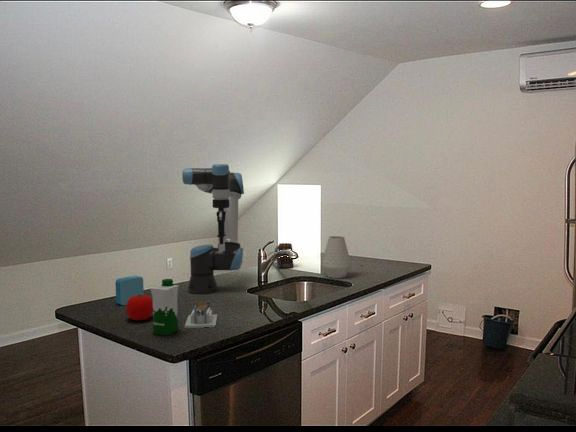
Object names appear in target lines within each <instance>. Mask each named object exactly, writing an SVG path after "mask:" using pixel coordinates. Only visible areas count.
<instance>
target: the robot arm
mask: <svg viewBox="0 0 576 432" xmlns="http://www.w3.org/2000/svg"><path fill="white" fill-rule="evenodd" d="M181 174H182V175H181V176H182V183H183V184H184V185H189V186H191V185H194V186H196V188H197V189H198V190H199V191H202V192H204V193H207V194H211V195H212V208H213V209H217V211H216V217H217V218H216V219H217V220H216V221H217V231H218V234H217V235H216V237H217V238H218V244H217V247H214V245H213V244H202V245H198V246H197V245H196V246H194V247H192V248H191V249H190V254H189V255H190V256H189V259H190V261H189V262H190V276H189V281H188V284H187V292H188V293H190V294H197V295H204V294H211V293H215V292H217V291H218V284H217V282H216V278H215V276H214V272H215V271H231V272H232V271H239V270H240V269H241V268H242V263H243V257H244V256H243V255H244V248H243V247H242V246H241V243H240V242H239V241H238V238H239V237H238V236H239V234H238V233H239V232H238V231H239V200H240V199H241V198H242V195H244V194H245V191H244V189H245V188H244V182H243V176H242V173H241V172H231V171H230V167H229V164H226V163H225V164H224V163H220V164H219V163H215V164H212V166H211V167H208V168H199V167H198V168H196V167H195V168H194V167H189V168H183V170H182V173H181Z"/></svg>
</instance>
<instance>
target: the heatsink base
mask: <svg viewBox="0 0 576 432" xmlns="http://www.w3.org/2000/svg"><path fill="white" fill-rule="evenodd" d="M197 310H198V307H197V305H194V307H193V310H192V311H191V314H189V315H187V318H186V321H185V324H184V329H201V328H202V329H204V327H209V328H216V327H215V326H216V325H217V320H218V314H215V313H214V314H213V309H211V300H206V301H205V306H204V313H197Z"/></svg>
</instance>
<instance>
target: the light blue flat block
mask: <svg viewBox="0 0 576 432" xmlns="http://www.w3.org/2000/svg"><path fill="white" fill-rule="evenodd" d="M144 291H145V289H144V278H143V277H142V276H139V275H131V276H126V277H121V278H117V279H115V301H116V302H115V303H117V304H118V305H121V306H126V305H127V301H128V300H129V299H130V298H131V297H133V296H136V295H139V294H140V295H145V294H144V293H145V292H144Z"/></svg>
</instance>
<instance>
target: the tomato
mask: <svg viewBox="0 0 576 432" xmlns="http://www.w3.org/2000/svg"><path fill="white" fill-rule="evenodd" d="M125 312H126V314H127V316H128V318H129V319H131V320H133V321H144V320H147V319H149V318H150V317H152V316H153V297H152V296H151V295H150V296H149V295H148V294H144V295H140V294H139V295H136V296H133V297H131V298H130V299H129V300H128V301H127V305H125Z"/></svg>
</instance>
